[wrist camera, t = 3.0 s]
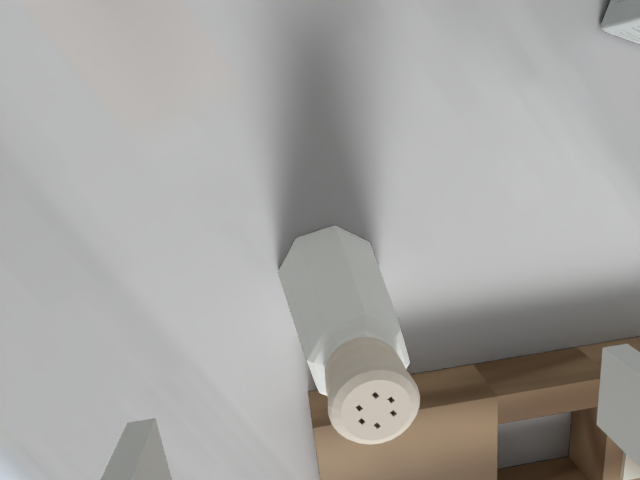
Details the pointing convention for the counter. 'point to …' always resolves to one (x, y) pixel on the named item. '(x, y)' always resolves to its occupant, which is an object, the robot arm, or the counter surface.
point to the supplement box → (623, 19)
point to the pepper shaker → (350, 335)
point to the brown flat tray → (485, 423)
